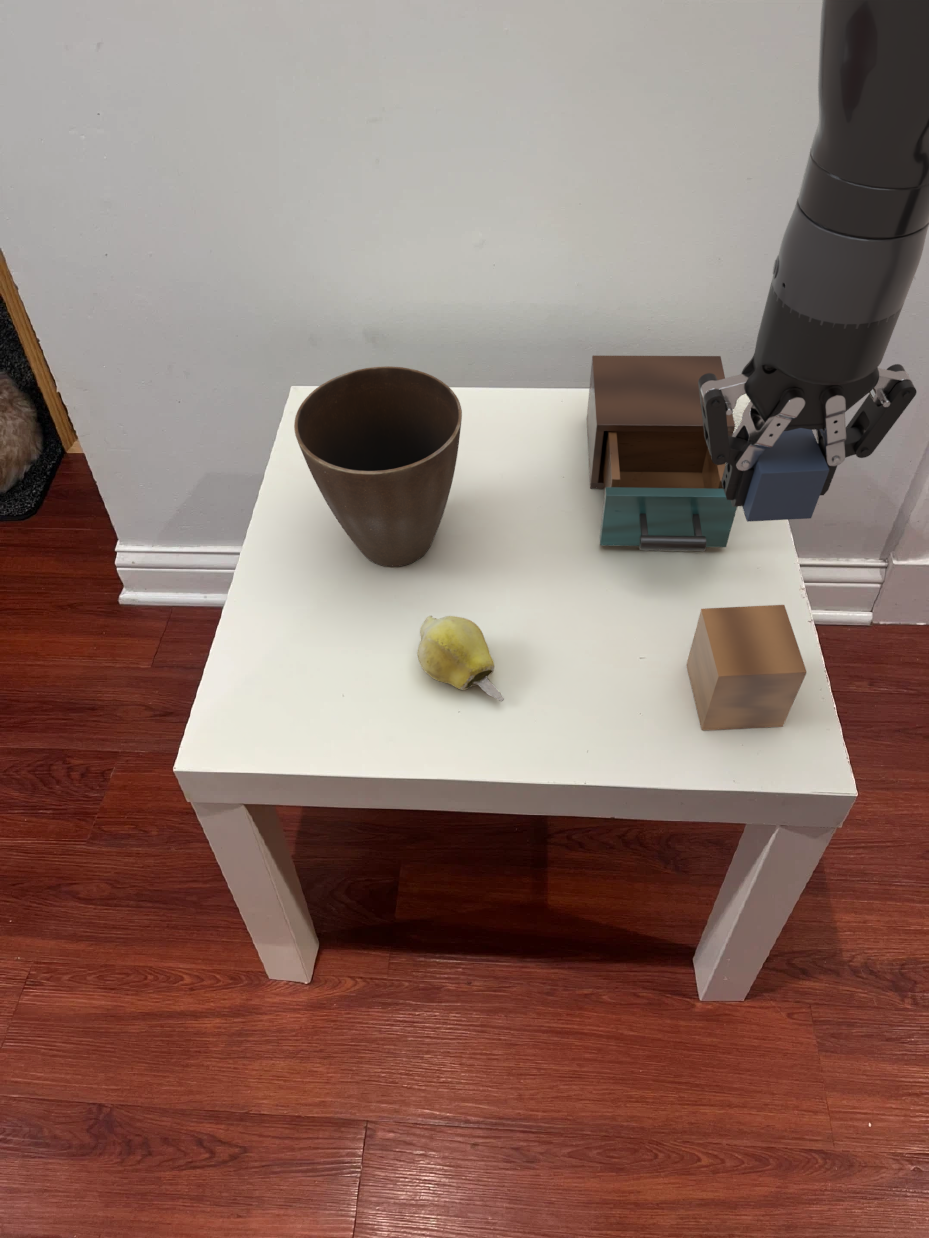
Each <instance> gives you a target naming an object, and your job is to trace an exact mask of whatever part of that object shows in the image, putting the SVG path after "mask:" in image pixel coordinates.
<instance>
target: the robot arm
mask: <svg viewBox="0 0 929 1238" xmlns="http://www.w3.org/2000/svg"><path fill="white" fill-rule="evenodd" d="M819 25H820V26H819V47H818V48H819V49H818V73H817V74H818V75H817V99H818V100H817V101H818V102H817V103H818V123H817V126H816V129H815V132H814V135H813V139H812V142H811V145H810V148H809V152H808V157H807V160H806V165H805V168H804V172H803V175H802V179H801V182H800V183H801V184H800V188H799V192H798V196H797V199H796V202H795V205H794V209H793V210H792V214H791V215H790V218H789V221H788V222H787V225H786V228H785V230H784V233H783V236H782V240H781V243H780V248H779V251H778V253H777V254H778V255H777V256H776V258H775V260H774V262H773V266H772V278H771V282H770V285H769V290H768V295H767V298H766V302H765V306H764V309H763V314H762V317H761V322H760V325H759V328H758V333H757V337H756V341H755V342H756V343H755V348H754V352H753V355H752V356H751V358H750V360H749V361H748V362H747V363H746V364H745V366H744V367H743V368H742V371H741V372H740V374H736V375H733V376H729V377H725V379H721V380H717V377H716V376H715V375H714V374H712V373H707V374H704V375H703V376H701V377H700V379H699V381H698V386H699V394H700V403H701V411H702V419H703V428H704V436H705V440H706V443H707V446H708V450H709V453H710V456H711V459H712V462H713V463H714V464H716V465H722V464H725V463H726V465H725V469H724V473H723V477H722V481H721V483H722V486H723V489H724V492H725V496H726V499H727V500H731V504H732V506H733V507H737V508H738V507H742V506H744V504H745V500H746V497H747V494H748V490H749V487H750V483H751V480H752V476H753V473H754V468H753V465H754V464H755V463H756V461H757V460H758V458H759V457H760V456H761V454H762V453H763V451H764V450H765V449H766V448H768V449H770V448H772V446H773V445H774V444H775V442H776V441H777V440H778V438H779V437H780V435H781V434H782V433H783V431H790V430H794V429H798V428H804V429H810V430H812V431H815V433H816V441H817V443H818V445H819V447H820V450H821V452H822V454H823V457H824V459H825V461H826V463H827V466H828V468H829V472H828V475H827V478H826V480H825V483H824V486H823V488H822V491H821V494H820V496H825V494H826V493H827V492H828V491H829V489H830V486H831V484H832V481H833V479H834V476H835V473H836V471H837V469H838V466H840V465H841V464H843V463H844V461H845V460H846V458H849V457H853V456H856V458H859V459H865V458H868V457H870V456H871V455H872V454H873V453H874V451H875V450H876V449H877V447H879V445H880V444H881V442H882V441H883V440H884V438H885V437H886V436H887V435H888V433H889V431H890V430H891V429H892V428H893V426H894V425H895V424H896V422H897V421H898V420H899V418H900V417H901V415H903V413H904V412H905V410H906V409H907V407H908V406H909V405H910V403H911V402H912V401H913V399H914V398H915V397H916V395H917V388H916V387H915V385H914V384H913V381H912V379H911V377H910V376H909V374H908V373H907V371H906V369H905V367H904V366H903V365H902V364H899V363H895V364H892V365H890V366H888V367H887V368H886V369H885V368H880V367H879V366H880V365H881V363H882V362H883V359H884V356H885V354H886V352H887V349H888V346H889V343H890V341H891V338H892V335H893V333H894V331H895V327H896V325H897V322H898V320H899V318H900V315H901V313H902V310H903V307H904V305H905V302H906V300H907V296H908V294H909V292H910V288H911V286H912V283H913V281H914V277H915V275H916V273H917V270H918V268H919V265H920V261H921V259H922V256H923V251H924V247H925V243H926V238H927V234H928V229H929V0H821V10H820V24H819ZM743 395H746V396H747V398H748V399H749V402H748V404H747V405H746V406H745V408H744V410H743V412H742V416H741V422H740V423H739V424H738V426H737V427H736V429H735V430H734V432H733V435H732V436H728V428H727V417H726V415H731V414H732V413H733V414H734V409H735V408H736V406H737V401H738V400H739V399H740V398H741V396H743ZM864 397H866V398H865V399H864V400H863V402H862V404H861V405H860V407H859V408H857V409H858V410H857V411H856V412H855V414H854V415H853V417H852V418H851V419H850V420H849V422H848V424H847V423H846V412H847V411H849V410H850V409H851V408H852V407H853V406H855V405H856V404H857V403H858V402H859V401H861V400H862V399H863V398H864Z"/></svg>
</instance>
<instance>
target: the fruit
mask: <svg viewBox="0 0 929 1238" xmlns="http://www.w3.org/2000/svg"><path fill="white" fill-rule="evenodd" d="M419 635H420V640H419V644H418V647H417V653H416V654H417V655H416V656H417V659H418V663H419V665H420V667H421V669H422V670H423V671H424V672H425V673H426V674H427V675H428V676H430V677H431V678H432V679H434V680H435V681H438V682H439V683H444V684H448V685H451V686H453V687H454V688H456V689H458V690H462V691H464V690H467V689H470V688H472V687H475V686H479V688H480V689H481V690H482V691H483V692H485V694H487V696H490V697H492V698H494V699H495V700H498V701H500V702H503V701H504V700H505V698H504V696H503V695H502V693H501V692H500V691H499V689H498V688H497V687H496V686H495V685H494V684H493V683H492V682H490V680H489V679H488V677H489V676H490V675H491V674H492V673H493V672H494V670H495V663H494V660H493V659H494V658H493V657H492V656H491V653H490V648H489V646H488V643H487V641H486V639H485V635H484V633H483V632H482V630H481V628H480V627H479V625H477V624H476V623H475V622H474V621H472V620H470V619H468V618H465V617H462V616H461V617H460V616H457V615H456V616H455V615H445V616H443V617H440V618H435V617H433V615H428V616H427V617H425V619H424V621H423V622H422V624H421V626H420V629H419Z"/></svg>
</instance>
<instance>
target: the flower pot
mask: <svg viewBox="0 0 929 1238" xmlns="http://www.w3.org/2000/svg"><path fill="white" fill-rule="evenodd" d="M301 402H302V403H300V406H299V407H298V409H297V412H296V413H295V417H294V423H293V429H294V436H295V438H296V441H297V444H298V446H299V448H300V451H301V453H302V455H303V458H304V461H305V463H306V466H307V468H308V470H309V472H310V475H311V476H312V479H313V480H314V482H315V484H316V486H317V488H318V490H319V492H320V493H321V495H322V497H323V499H324V501H325V503H326V504H327V505H328V508H329V509H330V511H331V513H332V514H333V516H334V517H335V519H336V520H337V522H338V523H339V525H340V526H341V528H342V529H343V531H344V532H345V534H346V535H347V536H348V537H349V539H350V540H351V541H352V543H353V544H354V545H355V546H356V547H357V549H358V550H359V551H360V552H361V553H362V554H363V556H364V557H365V558H366V559H367V560H369V561H370V562H372V563H374V564H376V565H379V566H383V567H389V568H397V567H404V566H407V565H410V564H413V563H415V562H416V561H419V560H421V558H423V557H424V555H426V554H427V552H428V551H429V549H430V548H431V545H432V543H433V541H434V540H435V537H436V534H437V533H438V530H439V527H440V525H441V522H442V519H443V517H444V513H445V510H446V507H447V503H448V500H449V497H450V492H451V489H452V484H453V480H454V475H455V471H456V465H457V459H458V453H459V446H460V437H461V428H462V420H463V410H462V405H461V402H460V400H459V398H458V396H457V395H456V393H455V392H454V391H453V390H452V388H451V387H450V386H448V385H447V384H446V383H445V382H444V381H443V380H441V379H440V378H437V377H435V376H433V375H431V374H429V373H426V372H424V371H421V370H418V369H413V368H408V367H403V366H387V365H386V366H371V367H365V368H360V369H355V370H351V371H348V372H347V373H342V374H340V375H338V376H335V377H333V378H331V379H328V380H327V381H325V382H323V383H321V385H318V386H317V387H316V388H315V389H314V390H313V391H311V392H310V393H309V394H307V396H306V398H304V400H303V401H301Z"/></svg>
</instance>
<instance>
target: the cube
mask: <svg viewBox="0 0 929 1238" xmlns="http://www.w3.org/2000/svg"><path fill="white" fill-rule="evenodd" d="M693 634H694V635H693V638H692V643H691V647H690V650H689V655H688V656H687V661H686V669H687V673H688V678H689V683H690V687H691V691H692V695H693V700H694V704H695V707H696V712H697V717H698V720H699V725H700V730H701V731H715V730H716V731H717V730H718V731H719V730H720V731H721V730H738V729H759V728H760V729H762V728H779V727H780V728H781V727H784V725H785V723H786V721H787V719H788V716H789V714H790V711H791V709H792V707H793V704H794V703H795V699H797V696H798V694H799V691H800V688H801V686H802V684H803V682H804V680H805V677H806V675H807V668H806V666H805V663H804V659H803V657H802V654H801V650H800V647H799V644H798V641H797V639H796V635H795V632H794V630H793V626H792V623H791V620H790V617H789V614H788V612H787V609H786V606H785V604H771V605H770V604H769V605H768V604H767V605H751V606H750V605H749V606H731V607H729V606H727V607H707V608H700V612H699V615H698V620H697V624H696V627H695V631H694V633H693Z"/></svg>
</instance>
